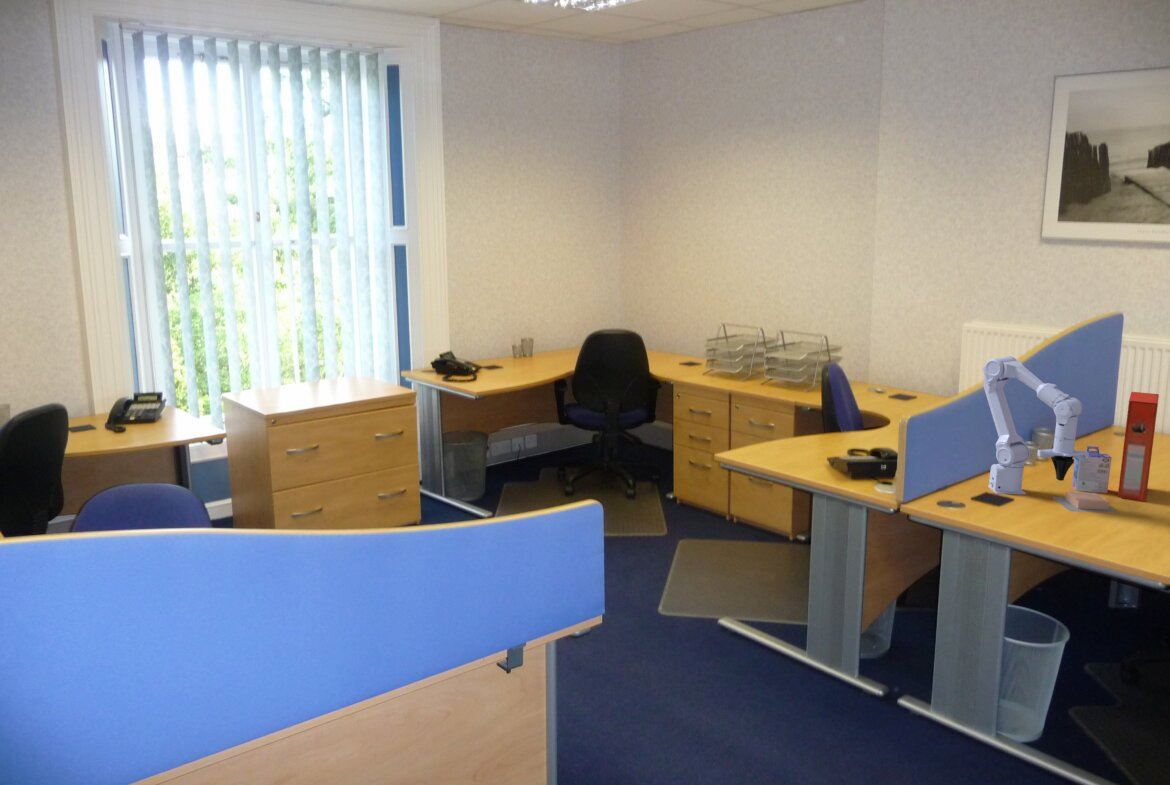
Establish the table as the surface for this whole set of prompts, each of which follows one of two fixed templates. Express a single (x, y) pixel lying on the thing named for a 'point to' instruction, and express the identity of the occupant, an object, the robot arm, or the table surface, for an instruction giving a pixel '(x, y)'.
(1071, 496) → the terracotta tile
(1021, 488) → the robot arm
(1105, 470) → the ink cartridge box
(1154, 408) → the file binder
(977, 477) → the table surface
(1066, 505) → the desk mat
